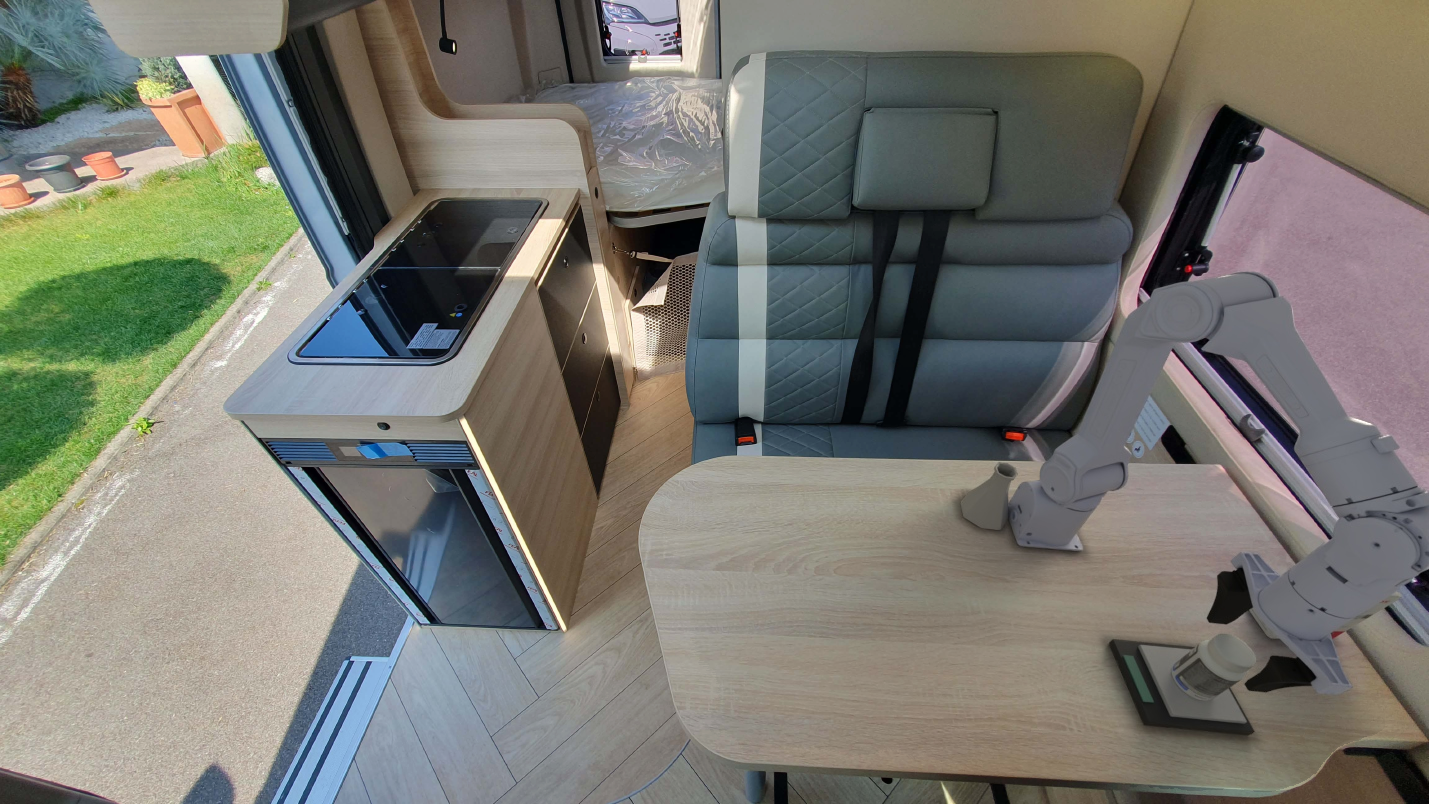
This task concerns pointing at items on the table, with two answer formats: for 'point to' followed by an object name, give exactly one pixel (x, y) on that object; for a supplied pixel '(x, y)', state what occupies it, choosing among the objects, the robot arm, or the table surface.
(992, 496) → the flask
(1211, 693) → the pill bottle
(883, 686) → the table surface
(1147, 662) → the scale
